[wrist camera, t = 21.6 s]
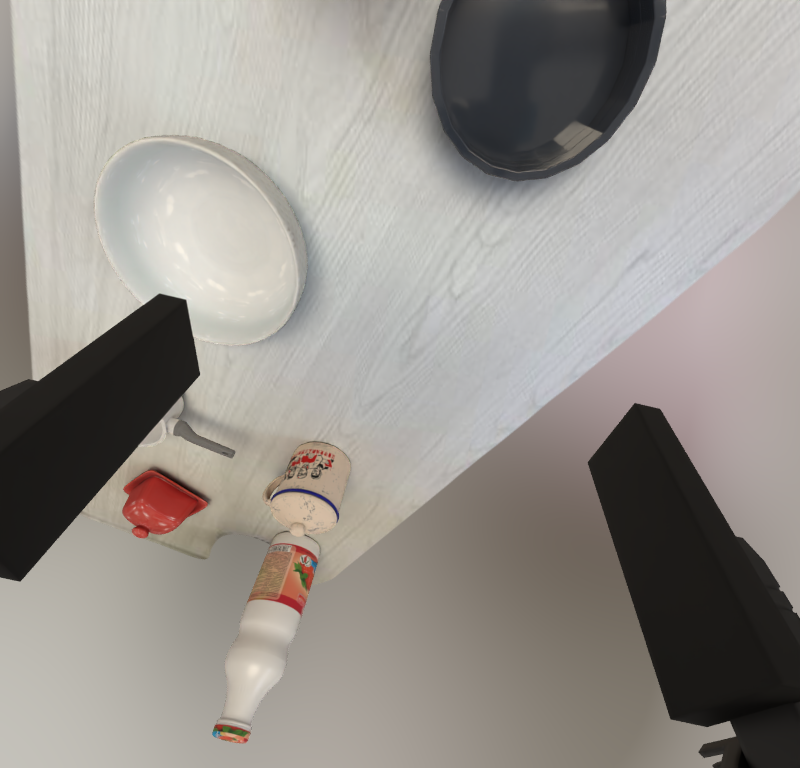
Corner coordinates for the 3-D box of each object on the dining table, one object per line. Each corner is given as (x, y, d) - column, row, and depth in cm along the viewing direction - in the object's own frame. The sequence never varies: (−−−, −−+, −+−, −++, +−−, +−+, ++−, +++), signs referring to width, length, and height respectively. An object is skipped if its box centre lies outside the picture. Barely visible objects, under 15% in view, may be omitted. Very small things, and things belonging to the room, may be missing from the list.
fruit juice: (276, 525, 70) (194, 725, 49) (326, 539, 71) (267, 742, 50) (270, 548, 76) (195, 736, 55) (316, 561, 77) (260, 751, 56)
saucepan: (244, 449, 58) (227, 480, 53) (106, 398, 54) (75, 426, 50) (258, 399, 51) (239, 429, 46) (100, 337, 47) (64, 363, 43)
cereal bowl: (326, 321, 42) (306, 358, 36) (178, 302, 43) (137, 335, 37) (316, 137, 31) (286, 150, 26) (120, 116, 32) (49, 125, 27)
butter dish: (181, 516, 73) (153, 560, 66) (124, 483, 68) (88, 527, 61) (214, 498, 67) (187, 544, 61) (155, 461, 62) (119, 506, 56)
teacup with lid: (340, 436, 53) (315, 510, 44) (361, 478, 59) (342, 551, 50) (264, 444, 56) (227, 514, 47) (291, 483, 62) (261, 553, 53)
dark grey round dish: (683, -57, 23) (724, -80, 19) (576, 185, 31) (591, 199, 28) (465, -113, 22) (466, -148, 19) (416, 146, 31) (411, 156, 27)
